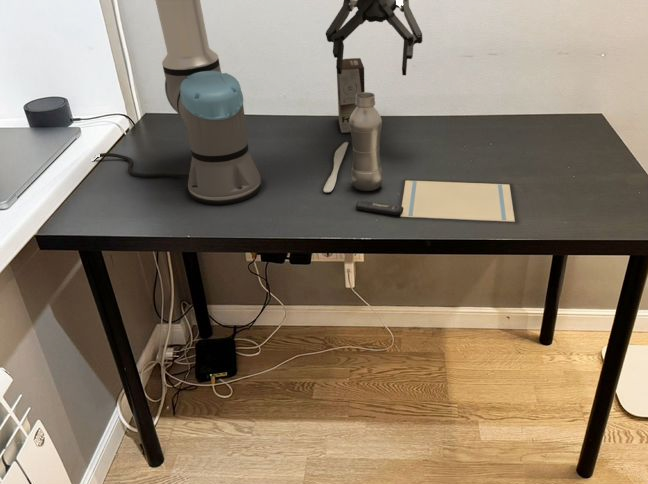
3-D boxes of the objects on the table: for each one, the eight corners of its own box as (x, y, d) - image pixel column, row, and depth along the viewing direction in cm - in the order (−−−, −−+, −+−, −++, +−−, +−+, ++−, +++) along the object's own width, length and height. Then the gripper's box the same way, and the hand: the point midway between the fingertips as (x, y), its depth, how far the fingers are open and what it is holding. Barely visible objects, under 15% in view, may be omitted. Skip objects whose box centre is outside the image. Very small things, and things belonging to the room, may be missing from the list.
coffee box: (366, 131, 164) (365, 68, 155) (340, 133, 163) (338, 69, 154) (362, 118, 171) (360, 57, 162) (337, 120, 171) (335, 58, 162)
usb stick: (354, 210, 129) (354, 203, 128) (359, 204, 131) (359, 197, 130) (399, 217, 126) (399, 210, 125) (404, 211, 128) (404, 204, 127)
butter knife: (318, 190, 135) (332, 190, 135) (339, 142, 158) (351, 141, 157) (318, 193, 136) (332, 193, 135) (339, 144, 158) (351, 144, 158)
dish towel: (400, 217, 127) (400, 216, 127) (405, 181, 140) (405, 180, 140) (514, 222, 124) (514, 221, 124) (509, 185, 137) (509, 184, 137)
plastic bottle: (379, 195, 134) (379, 101, 123) (348, 193, 135) (344, 99, 125) (385, 182, 139) (385, 90, 129) (354, 180, 141) (352, 89, 130)
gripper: (318, -32, 136) (308, 61, 132) (437, -32, 133) (431, 63, 129) (323, -10, 143) (315, 79, 139) (436, -9, 141) (431, 81, 137)
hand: (371, 71), depth 134 cm, fingers open, 13 cm apart
